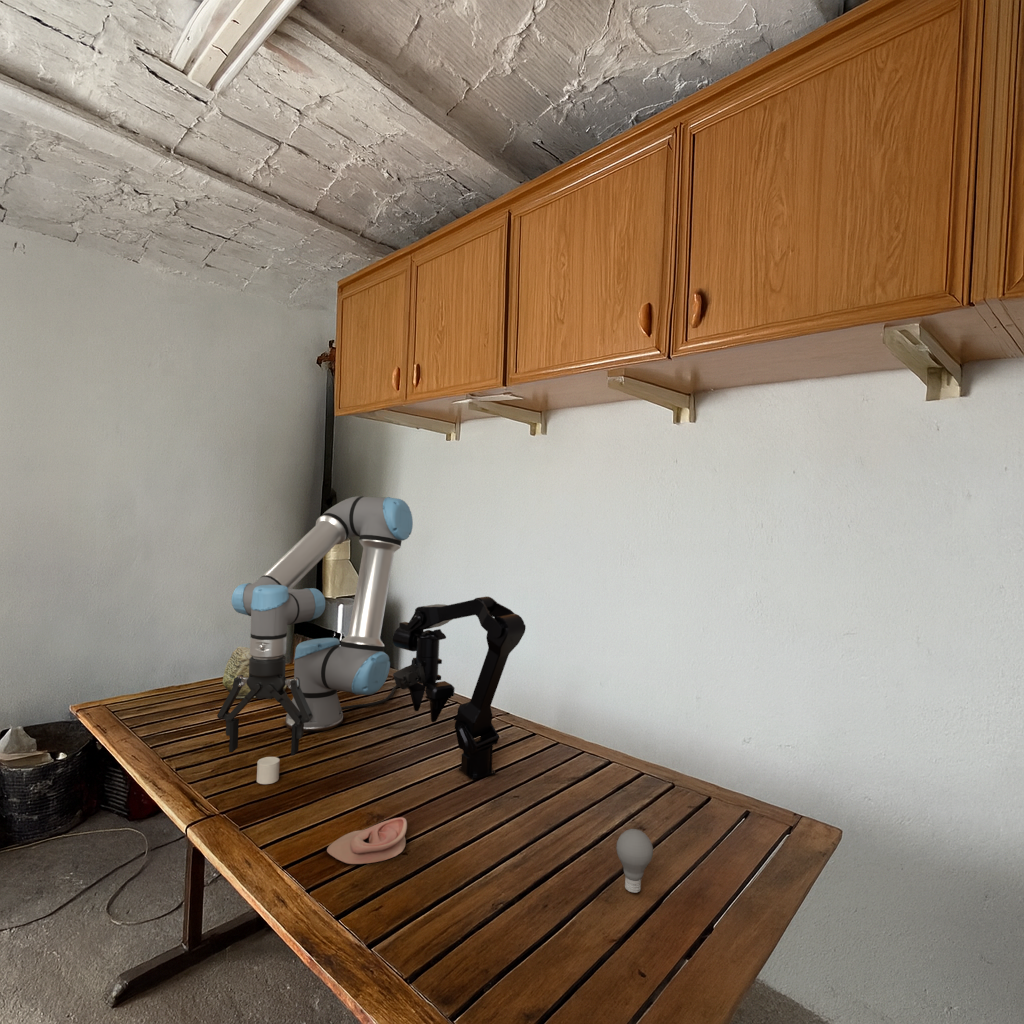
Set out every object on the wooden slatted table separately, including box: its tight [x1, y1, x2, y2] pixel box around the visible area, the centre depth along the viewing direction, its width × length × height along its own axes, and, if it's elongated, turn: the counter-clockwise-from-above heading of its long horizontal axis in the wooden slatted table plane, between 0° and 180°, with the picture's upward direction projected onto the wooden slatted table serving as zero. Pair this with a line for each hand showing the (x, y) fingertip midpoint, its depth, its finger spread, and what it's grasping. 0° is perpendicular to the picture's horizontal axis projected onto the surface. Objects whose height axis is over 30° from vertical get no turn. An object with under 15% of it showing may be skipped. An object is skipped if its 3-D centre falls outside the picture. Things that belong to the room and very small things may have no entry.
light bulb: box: [615, 828, 654, 894], centre depth 106 cm, size 6×6×10 cm
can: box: [256, 756, 280, 785], centre depth 141 cm, size 5×5×4 cm
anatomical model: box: [326, 816, 408, 865], centre depth 115 cm, size 13×4×12 cm
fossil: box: [222, 646, 288, 699], centre depth 198 cm, size 9×18×15 cm, turn 132°
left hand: (264, 751), depth 140 cm, fingers open, 13 cm apart
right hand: (424, 716), depth 160 cm, fingers open, 9 cm apart
